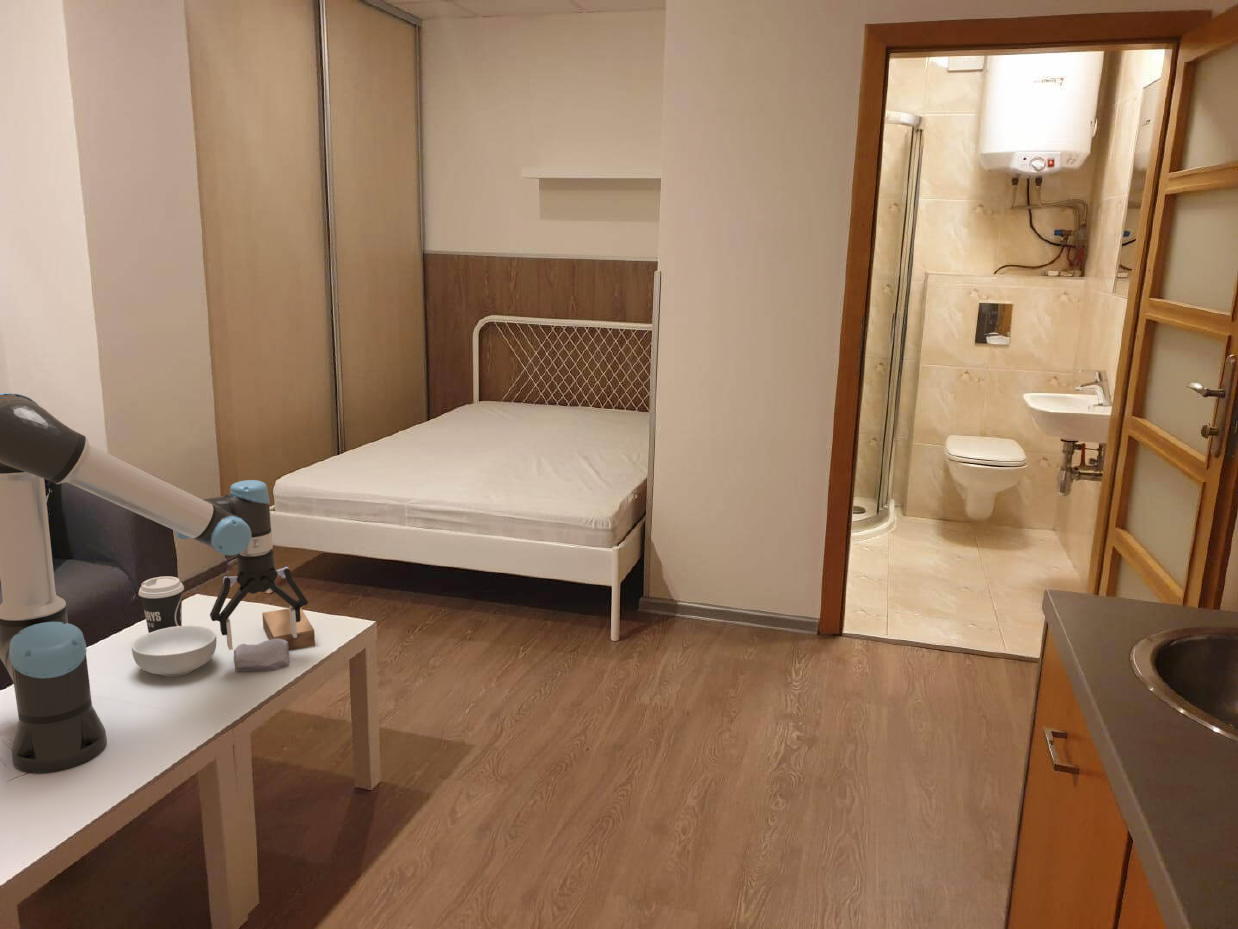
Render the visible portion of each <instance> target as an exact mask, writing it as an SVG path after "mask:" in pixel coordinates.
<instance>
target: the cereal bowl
mask: <svg viewBox="0 0 1238 929" xmlns="http://www.w3.org/2000/svg"><path fill="white" fill-rule="evenodd" d="M216 649H217V634H216V632H215V631H214V630H213V629H211V628H209V627H206V626H201V625H182V626H176V627H169V628H164V629H160V630H156V631H153V632H150V633H149V632H148V633H146V634H143V635H142V636H139V637H138V638H137V639H135V640H134V641H133V643H132V644H131V653H132V657H133V660H134V662H135V664H136V665H137V666H138V667H139V668H140V669H141V670H143V671H144V672H145V671H146V672H147V673H150V674H153V675H154V674H156V675H160V676H161V677H167V678H170V677H171V678H172V677H179V676H183V675H187V674H190V673H191V672H193V671H194V670H196V669H197V668H200V667H202V666H203V665H205V664H206V663H207V662H209V661H210V659H211V658H212V657H213V656H214V654H215V652H216Z"/></svg>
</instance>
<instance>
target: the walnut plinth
mask: <svg viewBox="0 0 1238 929" xmlns="http://www.w3.org/2000/svg"><path fill="white" fill-rule="evenodd" d="M300 618H301V620H300V622H296V629H297V637H296V638H293V636H292V634H291V622H290V610H289V608H283V609H278V610H276V609H275V610H271V611H264V612H262V627H263V630H264V632H265V635H266V636H267V639H268V640H272V639H282V640H283V639H284V640H286V641H287V642H288V647H289V649H288V652H289V651H292V650H293V651H294V650H299V649H304V648H305V649H306V648H309V647H315V646H316V641H315V629H314V627H313V625H312V624H311V622H310V621H309V618H308V617H307V615H306V613H305V612H304V611H303V608H302V607H301V609H300Z"/></svg>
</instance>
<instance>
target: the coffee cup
mask: <svg viewBox="0 0 1238 929" xmlns="http://www.w3.org/2000/svg"><path fill="white" fill-rule="evenodd" d="M184 590H185V586H184V584H183V583H182V582H181V581H180V579H179V578H178V577H175V576H170V575H169V576H158V577H153V578H149V579H146V580H145V581H143V582H142V583H141V586H140V587H139V590H138V596H139V597H140V598H141V602H142V607H143V613H144V616H145V621H146V625H147V631H148V633H150V632H153V631H156V630H160V629H164V628H169V627H176V626H183V625H182V617H183V616H182V614H183V613H182V612H183V611H182V607H183V606H182V605H183V591H184Z"/></svg>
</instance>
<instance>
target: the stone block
mask: <svg viewBox="0 0 1238 929" xmlns="http://www.w3.org/2000/svg"><path fill="white" fill-rule="evenodd" d="M288 649H289V647H288V642H287V641H286V640H284V639H283V640H282V639H272V640H269V639H268V640H264V641H262V642H259V643H257V644H246V643H241V644H239V645H237V646H236V647H235V648H234V649H233V661H234V670H235V671H236V672H251V671H252V672H261V671H262V672H263V671H266V672H267V671H276V670H280V669H284V668H287V667H289V666H290V664H291V660H290V657H289V651H288Z"/></svg>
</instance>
